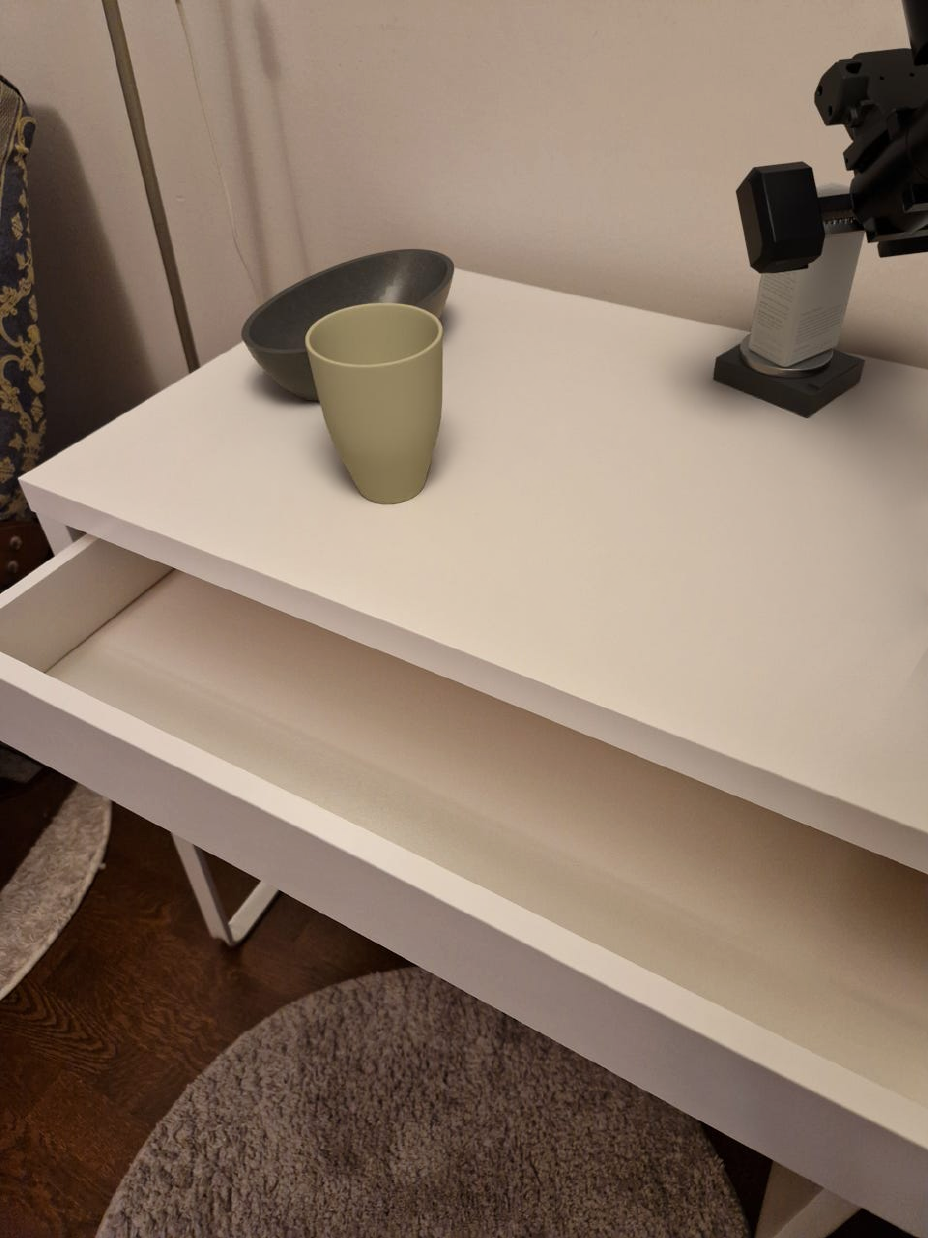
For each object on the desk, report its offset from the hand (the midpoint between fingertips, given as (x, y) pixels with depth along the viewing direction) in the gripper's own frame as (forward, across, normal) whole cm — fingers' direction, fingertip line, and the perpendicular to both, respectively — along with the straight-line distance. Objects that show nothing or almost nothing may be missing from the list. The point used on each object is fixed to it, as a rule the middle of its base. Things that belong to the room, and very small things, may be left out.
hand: (822, 258), depth 71 cm
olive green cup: (+6, +34, +10) cm, 36 cm away
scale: (+9, 0, +6) cm, 11 cm away
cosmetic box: (+7, 0, +5) cm, 8 cm away
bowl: (+18, +34, -2) cm, 38 cm away
